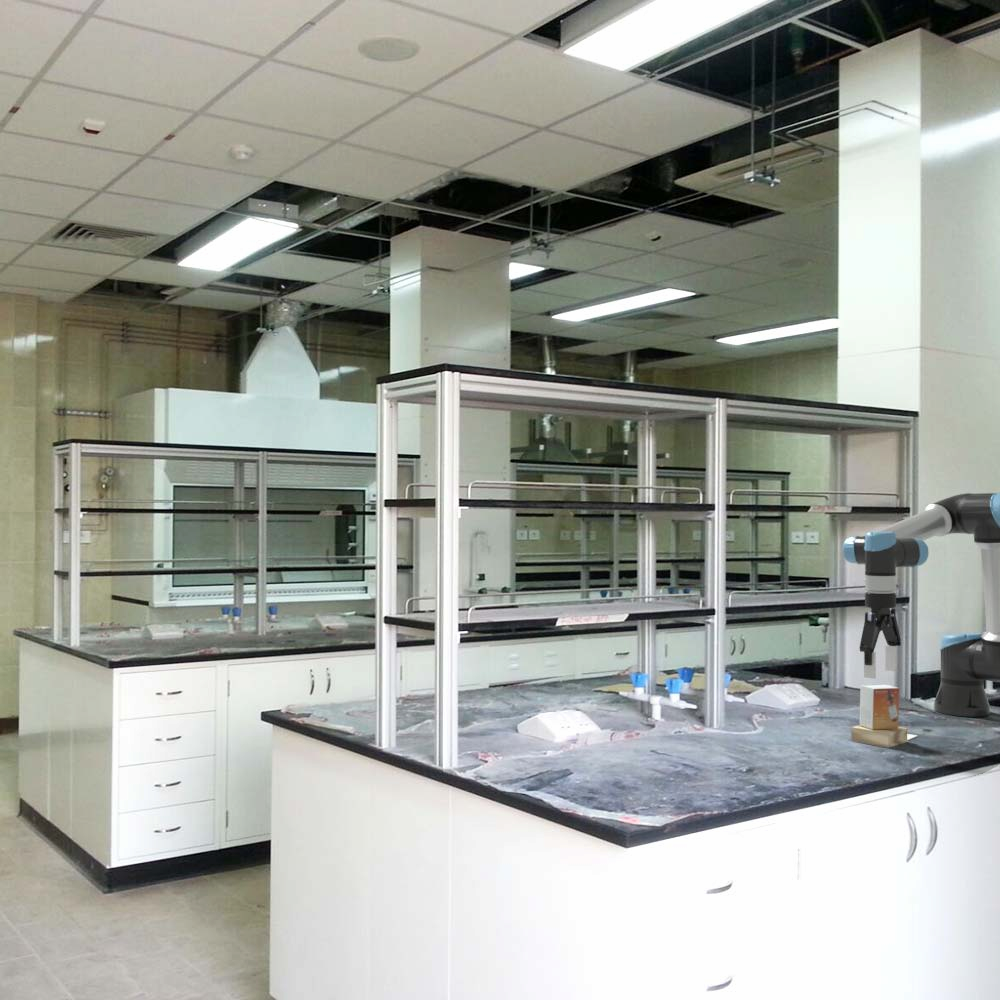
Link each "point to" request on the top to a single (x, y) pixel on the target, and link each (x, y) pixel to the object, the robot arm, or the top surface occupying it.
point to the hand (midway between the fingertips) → (880, 674)
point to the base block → (879, 736)
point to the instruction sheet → (911, 736)
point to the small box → (879, 706)
